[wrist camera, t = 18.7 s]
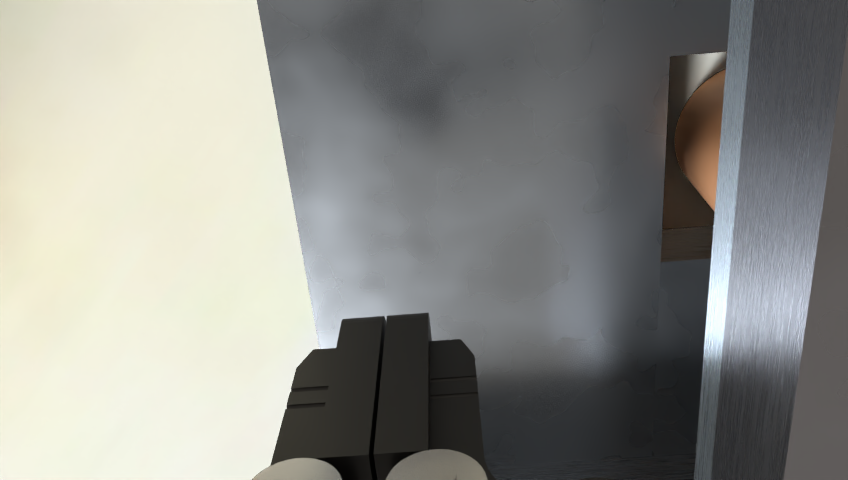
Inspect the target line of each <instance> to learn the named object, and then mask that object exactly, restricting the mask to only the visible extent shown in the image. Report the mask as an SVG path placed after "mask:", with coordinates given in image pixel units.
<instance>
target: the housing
mask: <svg viewBox="0 0 848 480" xmlns="http://www.w3.org/2000/svg"><path fill="white" fill-rule="evenodd" d="M257 4H258V9H259V15H260V20H261V26H262V32H263V37H264V43H265V48H266V54H267V59H268V65H269V70H270V76H271V82H272V87H273V93H274V98H275V104H276V109H277V115H278V121H279V126H280V132H281V137H282V143H283V148H284V154H285V159H286V165H287V171H288V176H289V182H290V187H291V193H292V198H293V204H294V209H295V215H296V221H297V226H298V232H299V237H300V243H301V248H302V254H303V259H304V265H305V271H306V276H307V282H308V287H309V293H310V298H311V304H312V309H313V315H314V321H315V326H316V332H317V337H318V343H319V348H320V349H329V348H336V346H337V341H338V336H339V331H340V326H341V321H342V319H349V318H362V317H376V316H384V317H385V320H386V319H387V316H388V315H402V314H416V313H429V318H430V326H431V337H432V341H439V340H454V339H461V340H462V341H463V342H464V343H465V345H466V346H467V347H468V348H469V349H470V351H471V352H472V353H473V354H474V355H475V365H476V375H477V386H478V396H479V407H480V417H481V428H482V438H483V449H484V458H485V463H486V465H487V467H488V470H489V471H490V472H491V474H492V475H493V476H494V477H495V478H496V479H497V480H580V479H585V478H608V479H614V480H694V472H695V459H696V446H697V433H698V421H699V408H700V395H701V382H702V369H703V356H704V343H705V330H706V317H707V304H708V292H709V279H710V266H711V253H712V240H713V227H714V226H703V227H690V228H677V229H664V230H662V221H663V200H664V178H665V156H666V134H667V112H668V90H669V69H670V56H681V55H692V54H704V53H715V52H726V51H727V47H728V34H729V21H730V8H731V0H257Z"/></svg>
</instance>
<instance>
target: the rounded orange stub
mask: <svg viewBox="0 0 848 480" xmlns="http://www.w3.org/2000/svg"><path fill="white" fill-rule="evenodd" d="M725 72H726V69H724V70H722V71H721V72H719V73H717V74H715V75H714V76H712V77H711V78H709V79H708V80H707V81H705V82H704V83H703V84H702V85H701V86H700V87H699V88H698V89H697V90H696V91H695V92H694V93H693V95H692V96H691V97H690V99H689V100H688V101H687V103H686V105H685V106H684V108H683V110H682V112H681V114H680V117H679V120H678V123H677V127H676V131H675V152H676V157H677V160H678V163H679V166H680V168H681V170H682V172H683V173H684V174H685V176H686V177H687V179H688V180H689V181H690V182H691V183H692V185H693V186H694V187H695V188H696V190H697V191H698V192H699V193H700V194H701V196H702V197H703V198H704V199H705V201H706V202H707V203H708V204H709V205H710V207H711V208H712V209H713V210H714V212H715V201H716V188H717V176H718V163H719V150H720V137H721V124H722V111H723V98H724V85H725Z"/></svg>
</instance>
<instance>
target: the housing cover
mask: <svg viewBox="0 0 848 480" xmlns="http://www.w3.org/2000/svg"><path fill="white" fill-rule="evenodd" d="M694 480H848V0H731V8H730V21H729V34H728V47H727V59H726V72H725V85H724V98H723V111H722V124H721V137H720V150H719V163H718V176H717V188H716V201H715V214H714V227H713V240H712V253H711V266H710V279H709V292H708V304H707V317H706V330H705V343H704V356H703V369H702V382H701V395H700V408H699V421H698V433H697V446H696V459H695V472H694Z"/></svg>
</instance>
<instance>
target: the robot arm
mask: <svg viewBox="0 0 848 480" xmlns="http://www.w3.org/2000/svg"><path fill="white" fill-rule="evenodd" d="M252 480H497V479H496V478H495V477H494V476H493V475H492V474H491V472H490V471H489V470H488V467H487V465H486V463H485V458H484V449H483V438H482V428H481V417H480V407H479V396H478V386H477V375H476V365H475V355H474V354H473V353H472V352H471V351H470V349H469V348H468V347H467V346H466V345H465V343H464V342H463V341H462V340H461V339H454V340H439V341H432V337H431V326H430V318H429V313H416V314H402V315H388V316H387V319H386V320H385V317H384V316H376V317H362V318H349V319H342V321H341V326H340V331H339V336H338V341H337V346H336V348H329V349H315V350H313V351H312V352H311V353H310V354H309V355H308V356H307V357H306V358H305V359H304V360H303V362H302V363H301V364H300V365H299V366H298V367H297V369H296V372H295V376H294V380H293V383H292V387H291V392H290V395H289V398H288V402H287V409H286V410H285V413H284V417H283V421H282V425H281V428H280V432H279V436H278V440H277V443H276V447H275V451H274V454H273V458H272V462H271V466H269V467H268V468H266V469H264V470H262V471H261V472H260V473H258V474H257V475H256V476H255V477H254V478H253V479H252ZM580 480H614V479H608V478H585V479H580Z"/></svg>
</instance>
